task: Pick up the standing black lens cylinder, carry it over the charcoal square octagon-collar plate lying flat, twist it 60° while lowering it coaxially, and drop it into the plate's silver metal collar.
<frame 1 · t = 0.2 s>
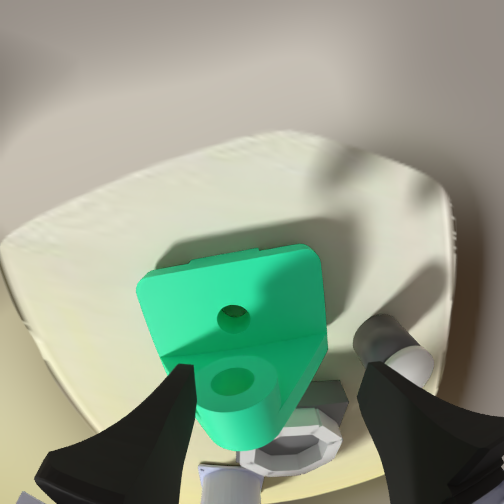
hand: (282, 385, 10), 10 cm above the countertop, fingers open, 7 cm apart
square octagon-collar plate: (284, 415, 23), on the countertop
camera mount: (235, 301, 20), on the countertop
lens: (376, 337, 21), on the countertop
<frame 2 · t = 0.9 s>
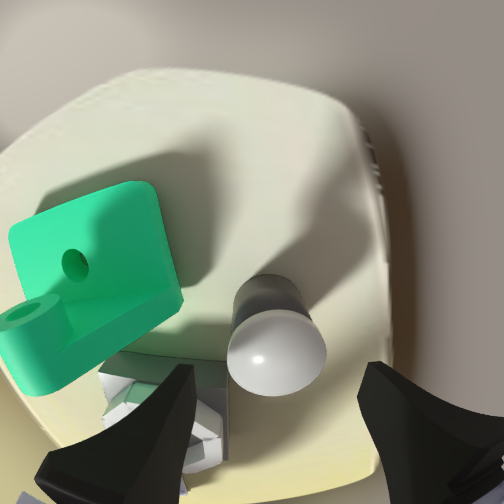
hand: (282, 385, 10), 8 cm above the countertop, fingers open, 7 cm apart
square octagon-collar plate: (173, 399, 20), on the countertop
camera mount: (95, 254, 17), on the countertop
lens: (267, 306, 18), on the countertop
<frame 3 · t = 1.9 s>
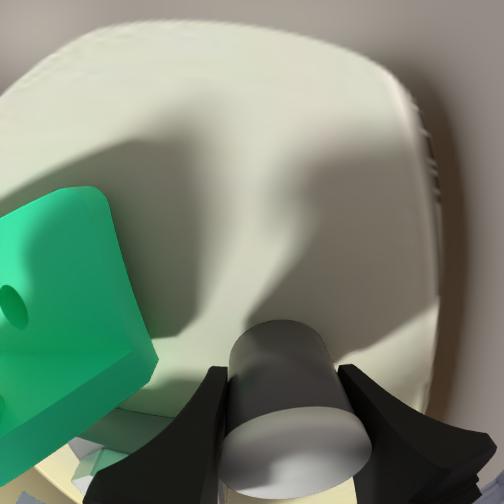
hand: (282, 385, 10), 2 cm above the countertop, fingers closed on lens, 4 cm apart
square octagon-collar plate: (158, 454, 14), on the countertop
camera mount: (45, 286, 11), on the countertop
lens: (278, 361, 12), on the countertop, touching gripper
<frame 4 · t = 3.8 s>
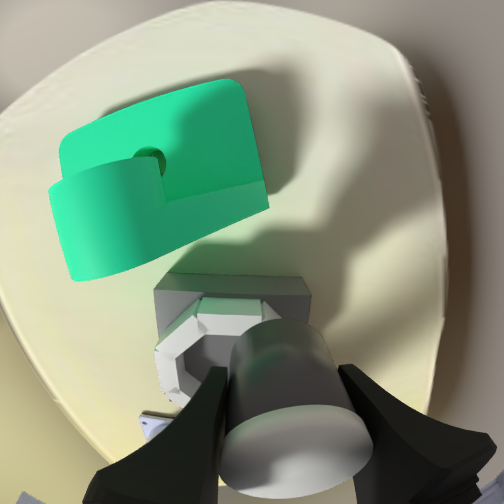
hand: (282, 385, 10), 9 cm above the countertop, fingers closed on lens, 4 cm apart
square octagon-collar plate: (232, 334, 19), on the countertop
camera mount: (162, 167, 17), on the countertop
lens: (279, 360, 12), point 7 cm above the countertop, touching gripper
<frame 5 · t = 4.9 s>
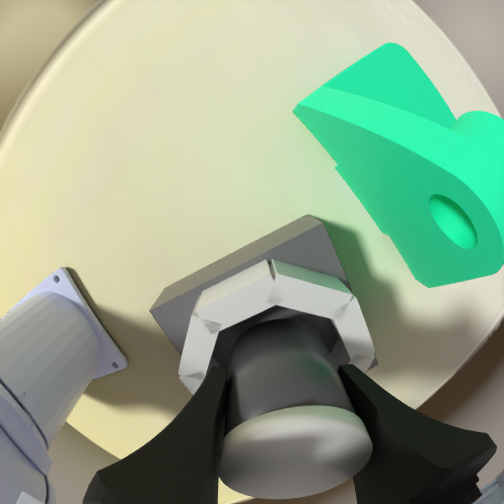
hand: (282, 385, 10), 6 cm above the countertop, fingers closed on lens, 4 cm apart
square octagon-collar plate: (270, 318, 16), on the countertop
camera mount: (399, 161, 14), on the countertop
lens: (278, 360, 12), point 4 cm above the countertop, touching gripper
when the fingers open (6 cm above the countertop, at t = 5.8 s): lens drops 1 cm, resting on square octagon-collar plate.
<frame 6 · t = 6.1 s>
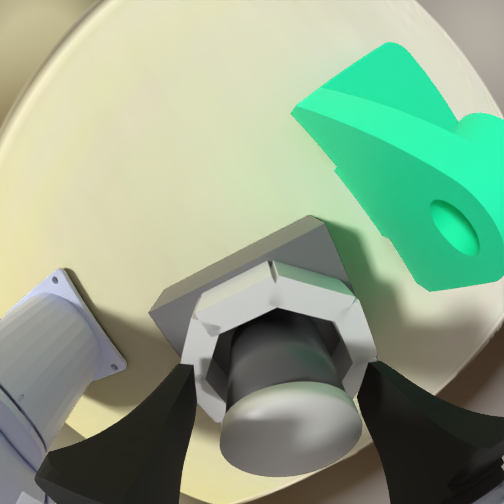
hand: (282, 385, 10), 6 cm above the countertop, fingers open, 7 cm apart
square octagon-collar plate: (271, 320, 16), on the countertop
camera mount: (399, 162, 14), on the countertop
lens: (276, 347, 13), point 3 cm above the countertop, touching square octagon-collar plate
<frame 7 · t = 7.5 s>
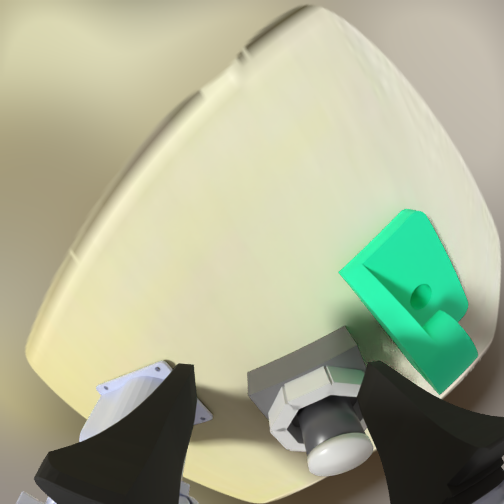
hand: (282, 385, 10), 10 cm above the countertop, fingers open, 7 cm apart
square octagon-collar plate: (315, 384, 23), on the countertop
camera mount: (404, 284, 21), on the countertop
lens: (322, 405, 20), point 3 cm above the countertop, touching square octagon-collar plate
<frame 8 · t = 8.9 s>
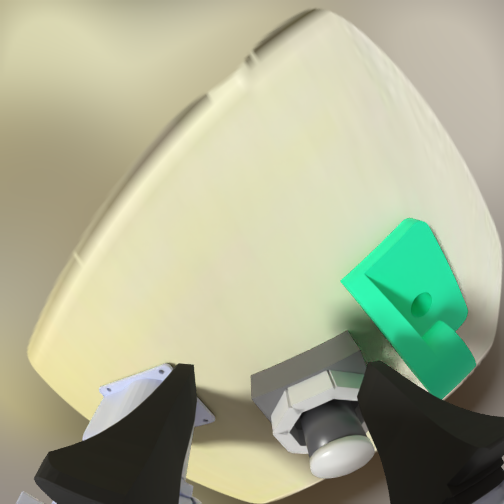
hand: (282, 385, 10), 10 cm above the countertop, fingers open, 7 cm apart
square octagon-collar plate: (317, 387, 23), on the countertop
camera mount: (404, 292, 21), on the countertop
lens: (324, 409, 20), point 3 cm above the countertop, touching square octagon-collar plate
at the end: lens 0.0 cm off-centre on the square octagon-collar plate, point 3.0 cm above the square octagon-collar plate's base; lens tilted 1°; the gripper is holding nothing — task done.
